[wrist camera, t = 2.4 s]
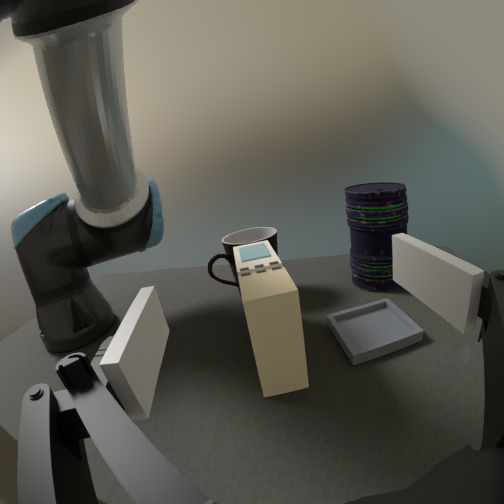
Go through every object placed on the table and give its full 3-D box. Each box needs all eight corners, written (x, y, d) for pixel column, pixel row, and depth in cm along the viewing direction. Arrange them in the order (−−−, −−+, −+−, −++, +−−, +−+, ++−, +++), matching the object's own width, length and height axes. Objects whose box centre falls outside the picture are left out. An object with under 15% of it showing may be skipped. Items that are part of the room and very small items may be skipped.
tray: (353, 365, 28) (353, 355, 28) (326, 324, 37) (326, 314, 37) (422, 340, 29) (423, 330, 28) (387, 306, 37) (387, 297, 37)
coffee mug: (278, 277, 54) (269, 224, 51) (292, 296, 46) (283, 235, 43) (215, 292, 53) (202, 238, 50) (218, 315, 45) (203, 253, 42)
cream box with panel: (256, 359, 33) (236, 270, 29) (248, 321, 41) (232, 245, 38) (294, 350, 33) (281, 261, 30) (279, 314, 42) (267, 238, 38)
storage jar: (348, 269, 51) (340, 186, 47) (400, 263, 49) (396, 180, 45) (355, 296, 42) (347, 195, 38) (416, 288, 40) (415, 189, 35)
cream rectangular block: (264, 397, 27) (242, 299, 23) (257, 364, 32) (237, 274, 29) (308, 387, 27) (297, 287, 24) (296, 355, 32) (283, 264, 29)
